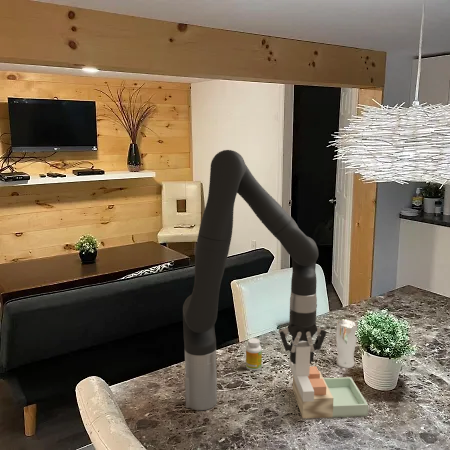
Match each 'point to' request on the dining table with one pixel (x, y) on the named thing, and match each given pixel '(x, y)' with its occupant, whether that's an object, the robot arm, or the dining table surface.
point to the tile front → (318, 386)
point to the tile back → (314, 373)
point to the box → (346, 398)
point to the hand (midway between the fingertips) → (301, 362)
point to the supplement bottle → (253, 354)
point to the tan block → (315, 403)
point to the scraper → (302, 371)
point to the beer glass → (346, 342)
